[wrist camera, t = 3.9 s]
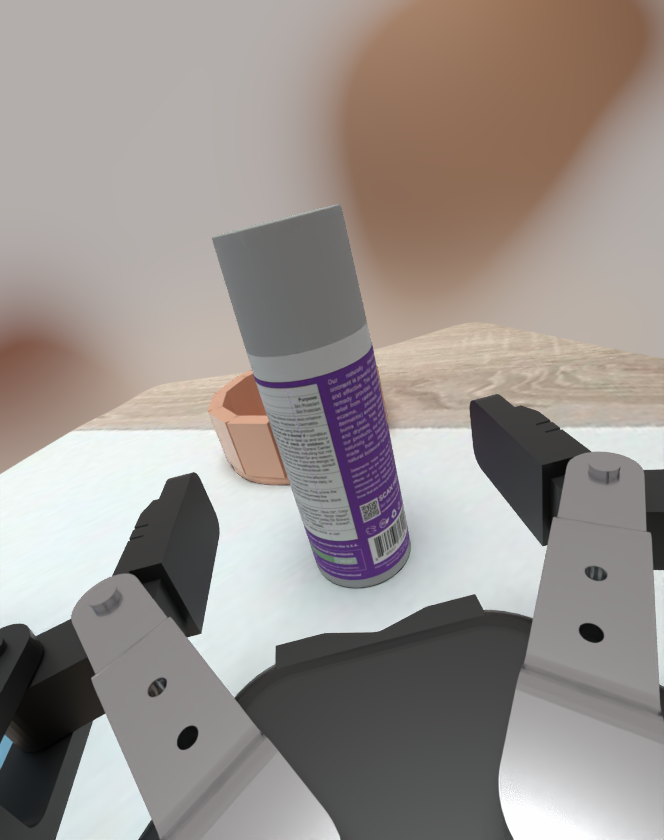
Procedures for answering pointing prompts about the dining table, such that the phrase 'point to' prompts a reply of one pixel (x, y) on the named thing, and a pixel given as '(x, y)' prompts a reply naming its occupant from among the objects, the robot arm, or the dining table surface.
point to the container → (320, 388)
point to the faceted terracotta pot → (248, 431)
